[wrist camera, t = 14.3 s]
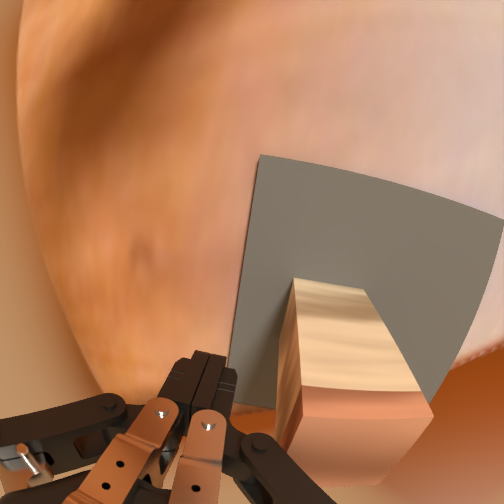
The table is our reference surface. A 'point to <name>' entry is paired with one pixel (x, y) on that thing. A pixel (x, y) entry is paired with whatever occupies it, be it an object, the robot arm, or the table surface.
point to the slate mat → (359, 266)
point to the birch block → (343, 388)
